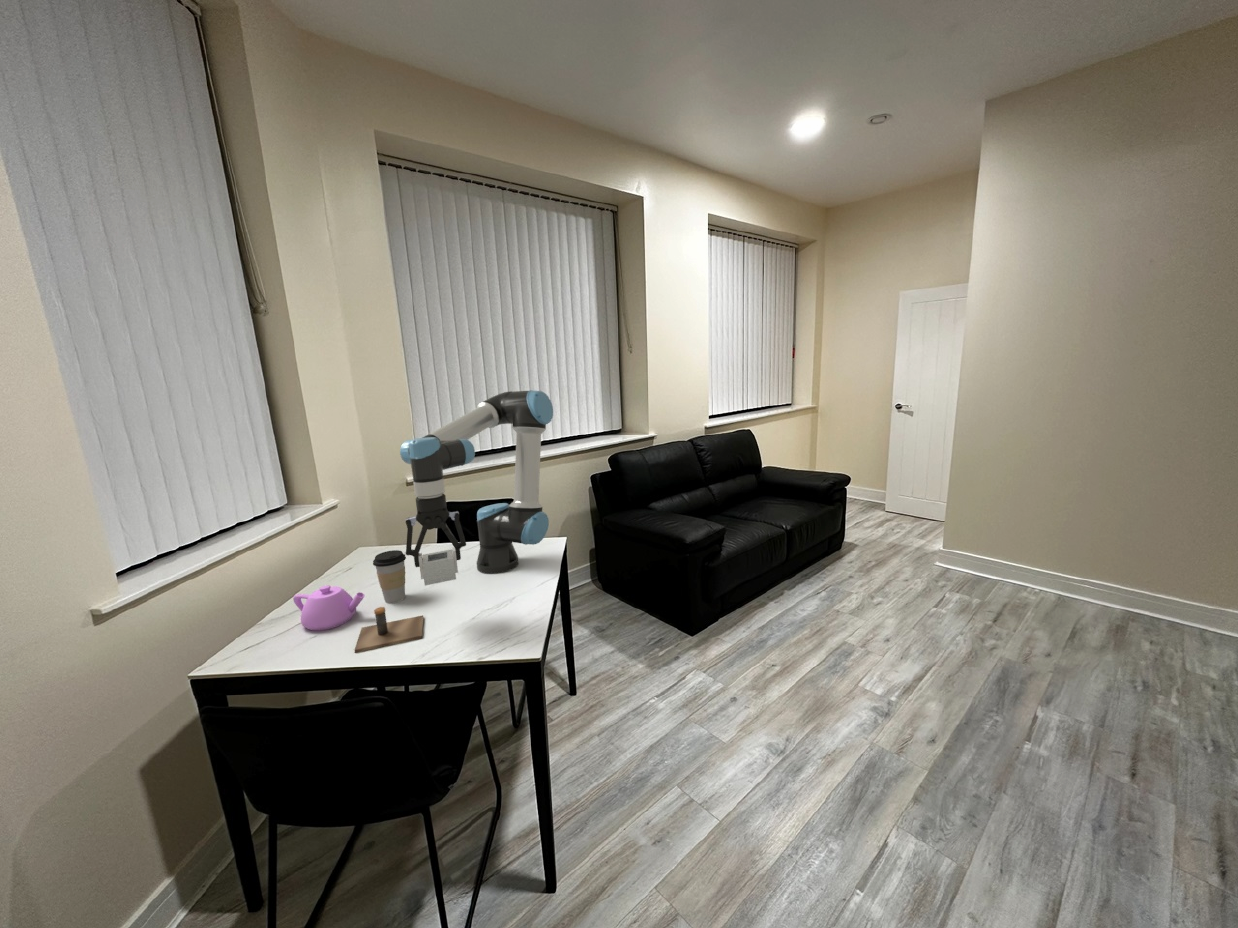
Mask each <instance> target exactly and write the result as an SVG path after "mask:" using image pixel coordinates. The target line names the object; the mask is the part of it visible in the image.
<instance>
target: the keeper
mask: <svg viewBox="0 0 1238 928" xmlns="http://www.w3.org/2000/svg"><path fill="white" fill-rule="evenodd" d="M374 616H375V622H376V624H373V625H368V626H364V627H361V628H360V631H359V634H358V637H357V642H356V644H355V648H354V653H360V652H365V651H369V650H374V649H379V648H383V647H388V646H393V645H397V644H401V643H407V642H411V641H415V640H420V639H423V633H424V632H423V631H424V615H418V616H412V617H409V618H403V619H398V620H393V621H389V622H387V616H386V607H385V606H379V607H377V608H375V609H374Z"/></svg>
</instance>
